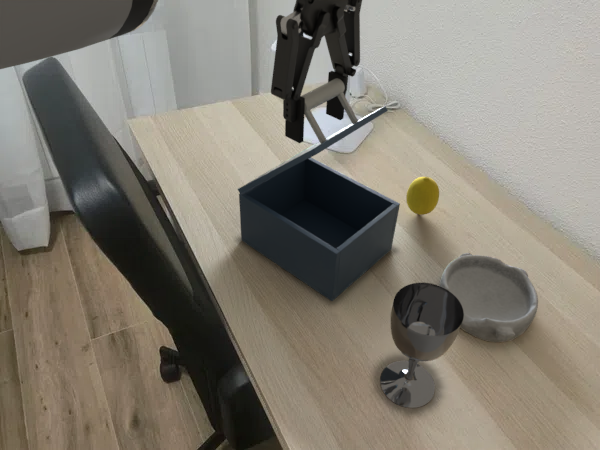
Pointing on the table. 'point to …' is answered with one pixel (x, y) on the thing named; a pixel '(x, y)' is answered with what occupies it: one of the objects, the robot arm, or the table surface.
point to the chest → (318, 225)
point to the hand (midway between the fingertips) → (315, 126)
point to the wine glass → (419, 340)
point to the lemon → (422, 195)
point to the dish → (491, 296)
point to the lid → (312, 101)
